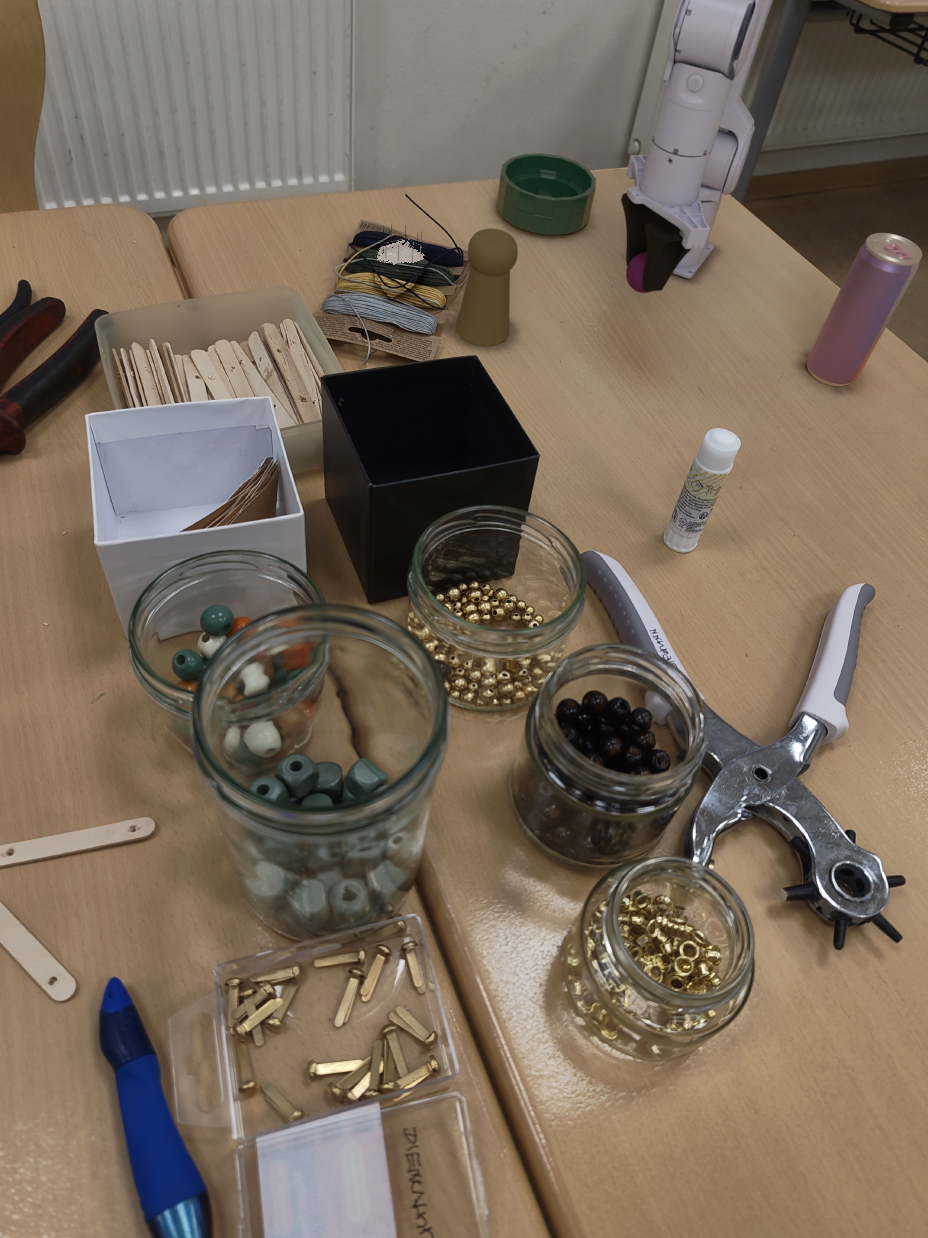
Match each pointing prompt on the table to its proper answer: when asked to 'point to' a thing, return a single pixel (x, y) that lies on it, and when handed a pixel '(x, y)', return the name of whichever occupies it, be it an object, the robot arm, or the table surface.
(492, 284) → the olive brown pawn
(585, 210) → the bowl
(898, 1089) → the table surface
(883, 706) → the table surface
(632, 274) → the ball
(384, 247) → the pincushion
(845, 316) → the beverage can
